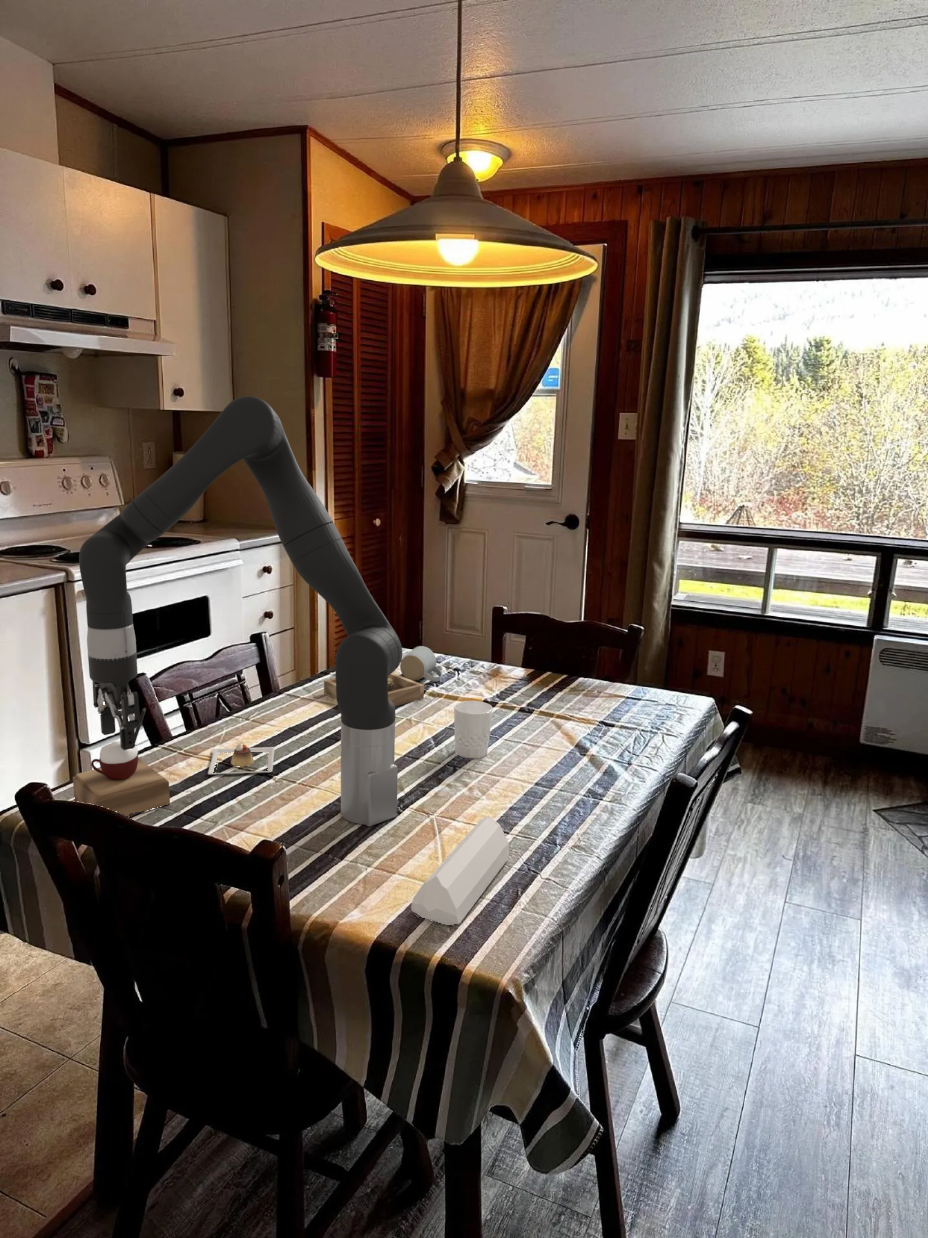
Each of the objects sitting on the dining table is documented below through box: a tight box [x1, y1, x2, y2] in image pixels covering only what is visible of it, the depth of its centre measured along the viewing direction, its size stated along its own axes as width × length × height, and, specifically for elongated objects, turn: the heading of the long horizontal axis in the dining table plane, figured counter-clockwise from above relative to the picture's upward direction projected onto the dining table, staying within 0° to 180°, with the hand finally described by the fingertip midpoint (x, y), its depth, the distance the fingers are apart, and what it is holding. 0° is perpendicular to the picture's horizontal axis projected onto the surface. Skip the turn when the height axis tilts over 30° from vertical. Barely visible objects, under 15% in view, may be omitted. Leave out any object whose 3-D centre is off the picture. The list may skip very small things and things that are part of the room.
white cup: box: [453, 700, 493, 759], centre depth 174 cm, size 8×8×10 cm
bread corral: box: [323, 672, 425, 707], centre depth 206 cm, size 17×17×4 cm
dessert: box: [207, 742, 276, 776], centre depth 165 cm, size 12×12×5 cm
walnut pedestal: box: [72, 757, 171, 818], centre depth 147 cm, size 12×12×5 cm
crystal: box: [410, 816, 510, 925], centre depth 125 cm, size 7×7×24 cm
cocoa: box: [90, 707, 147, 780], centre depth 145 cm, size 10×6×12 cm, turn 79°
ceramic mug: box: [399, 645, 443, 683], centre depth 221 cm, size 11×8×8 cm
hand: (118, 740), depth 145 cm, fingers open, 8 cm apart
